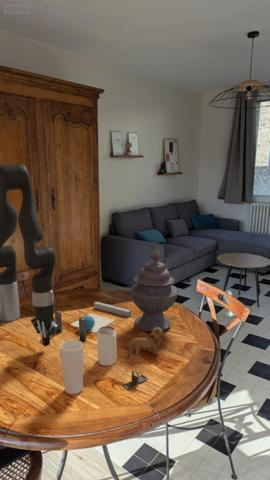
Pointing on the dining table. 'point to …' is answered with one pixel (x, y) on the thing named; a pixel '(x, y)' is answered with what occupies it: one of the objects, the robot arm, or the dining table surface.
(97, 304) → the wall
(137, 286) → the decorative urn
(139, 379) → the strap clip
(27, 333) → the dining table surface
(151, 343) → the lion figurine
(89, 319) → the ball
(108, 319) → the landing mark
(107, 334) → the can
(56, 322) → the post left
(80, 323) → the post right
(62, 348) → the drinking glass
